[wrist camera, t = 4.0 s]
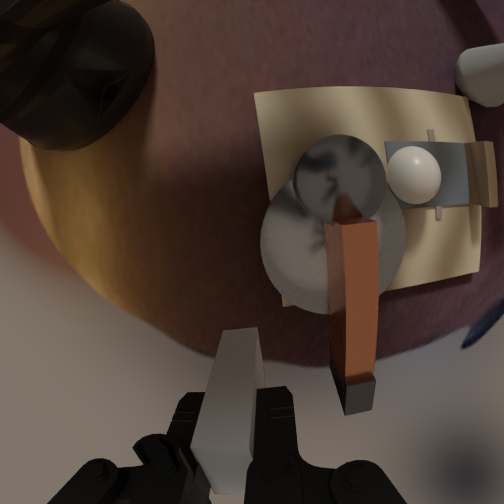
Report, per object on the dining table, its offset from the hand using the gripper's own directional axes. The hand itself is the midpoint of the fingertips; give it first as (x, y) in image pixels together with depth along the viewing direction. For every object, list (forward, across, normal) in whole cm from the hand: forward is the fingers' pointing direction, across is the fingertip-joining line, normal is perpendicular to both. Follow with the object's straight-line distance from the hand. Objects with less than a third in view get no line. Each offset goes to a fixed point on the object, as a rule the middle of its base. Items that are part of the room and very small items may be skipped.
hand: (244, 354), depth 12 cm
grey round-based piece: (+9, +6, +1) cm, 11 cm away
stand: (+11, +12, +6) cm, 17 cm away
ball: (+9, +12, +7) cm, 17 cm away
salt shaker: (+11, +23, +16) cm, 30 cm away
